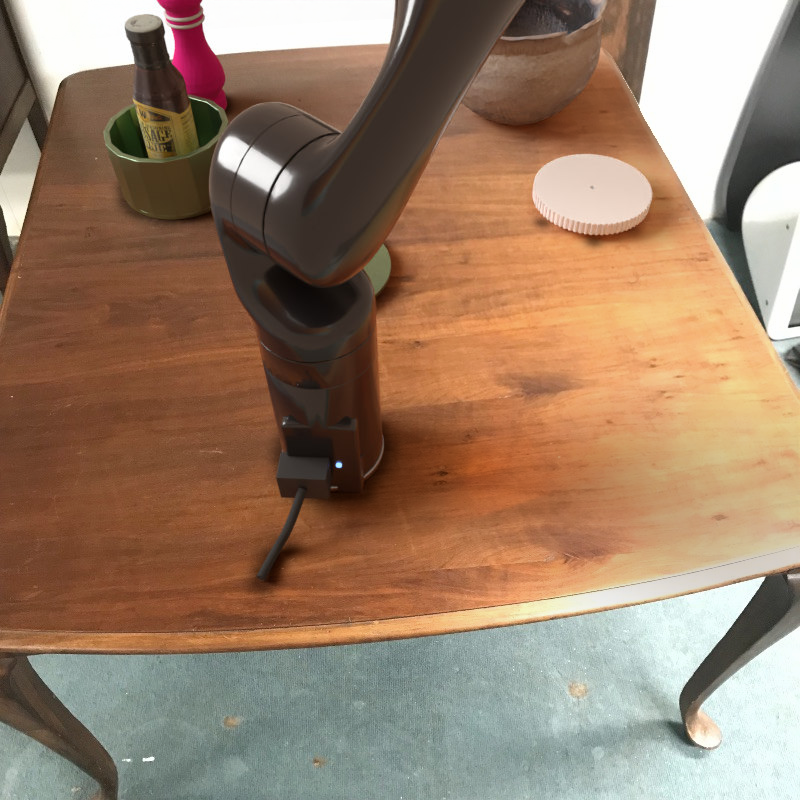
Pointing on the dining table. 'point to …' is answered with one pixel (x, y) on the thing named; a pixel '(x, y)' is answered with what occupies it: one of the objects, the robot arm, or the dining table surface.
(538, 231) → the dining table surface
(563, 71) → the ceramic bowl
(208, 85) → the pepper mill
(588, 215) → the plastic lid
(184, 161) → the pot
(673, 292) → the dining table surface
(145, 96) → the sauce bottle
